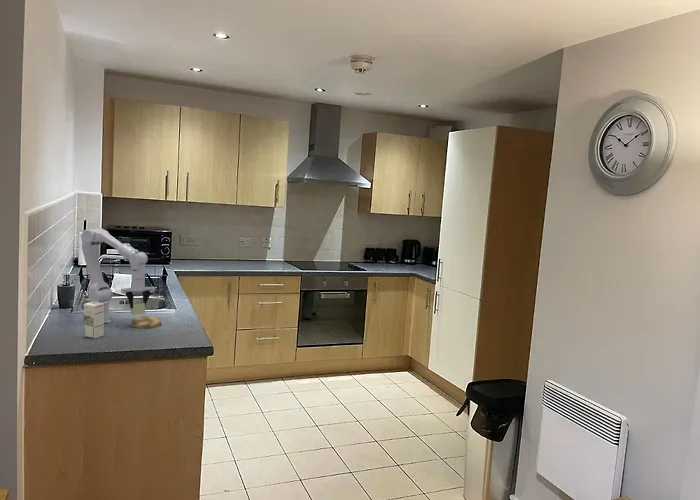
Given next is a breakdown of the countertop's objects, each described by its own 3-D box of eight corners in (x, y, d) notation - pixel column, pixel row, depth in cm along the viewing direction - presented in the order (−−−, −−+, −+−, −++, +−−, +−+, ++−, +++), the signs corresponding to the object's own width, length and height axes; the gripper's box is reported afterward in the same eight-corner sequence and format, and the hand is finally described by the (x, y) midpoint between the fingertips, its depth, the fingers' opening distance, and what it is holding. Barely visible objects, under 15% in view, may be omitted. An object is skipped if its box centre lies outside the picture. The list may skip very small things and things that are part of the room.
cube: (133, 315, 245) (133, 304, 244) (130, 312, 249) (130, 302, 248) (144, 314, 248) (145, 303, 247) (141, 312, 252) (142, 301, 251)
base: (136, 329, 244) (136, 324, 244) (128, 322, 254) (128, 317, 254) (164, 326, 252) (164, 321, 251) (155, 320, 262) (156, 315, 262)
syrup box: (104, 335, 232) (104, 302, 230) (93, 338, 226) (93, 305, 224) (93, 333, 233) (94, 301, 232) (83, 337, 228) (83, 303, 226)
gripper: (123, 280, 239) (123, 310, 240) (156, 279, 248) (156, 308, 249) (119, 278, 245) (119, 307, 246) (152, 276, 253) (151, 304, 255)
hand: (137, 307), depth 248 cm, fingers closed on cube, 5 cm apart
